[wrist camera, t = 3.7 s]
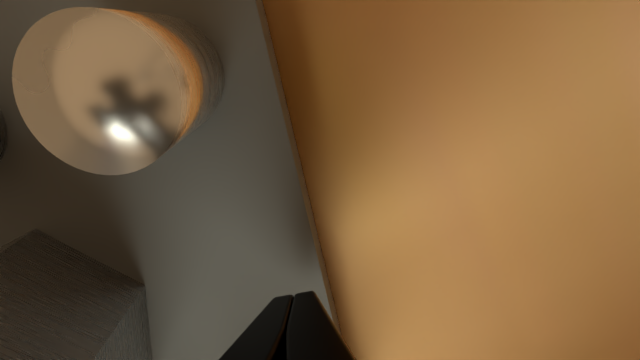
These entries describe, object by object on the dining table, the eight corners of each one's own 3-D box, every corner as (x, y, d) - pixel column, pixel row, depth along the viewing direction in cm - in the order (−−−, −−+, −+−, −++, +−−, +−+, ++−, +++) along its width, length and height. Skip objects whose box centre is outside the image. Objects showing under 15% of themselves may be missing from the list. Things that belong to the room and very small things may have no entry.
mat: (234, -115, 8) (222, -135, 7) (375, 479, 13) (379, 513, 12) (-322, 27, 9) (-401, 27, 8) (18, 528, 14) (-4, 565, 13)
